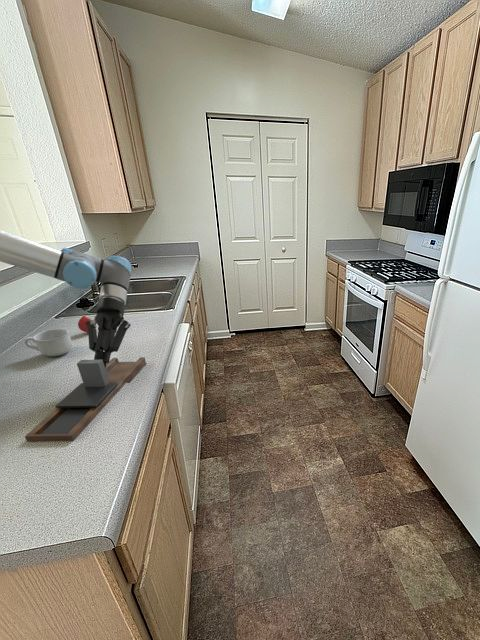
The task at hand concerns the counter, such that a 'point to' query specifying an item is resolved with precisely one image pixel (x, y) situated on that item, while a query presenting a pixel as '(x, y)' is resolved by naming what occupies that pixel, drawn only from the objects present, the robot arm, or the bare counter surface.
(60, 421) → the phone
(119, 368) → the long wooden tray frame
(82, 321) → the onion
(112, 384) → the lid
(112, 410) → the counter surface
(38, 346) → the teacup
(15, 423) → the counter surface
